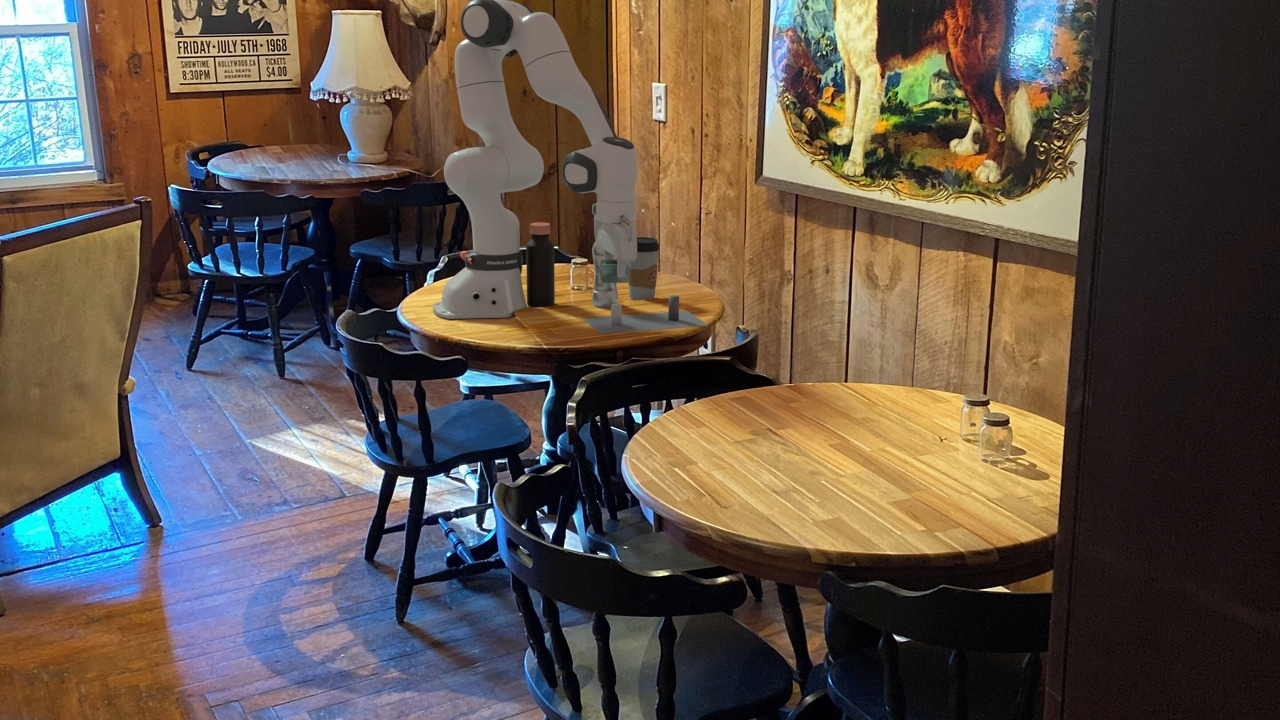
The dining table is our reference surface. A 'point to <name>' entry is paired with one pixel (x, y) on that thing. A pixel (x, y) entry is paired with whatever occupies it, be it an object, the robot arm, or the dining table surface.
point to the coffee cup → (644, 269)
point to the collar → (612, 272)
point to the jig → (644, 320)
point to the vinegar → (540, 266)
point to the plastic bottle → (602, 291)
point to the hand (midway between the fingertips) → (614, 272)
